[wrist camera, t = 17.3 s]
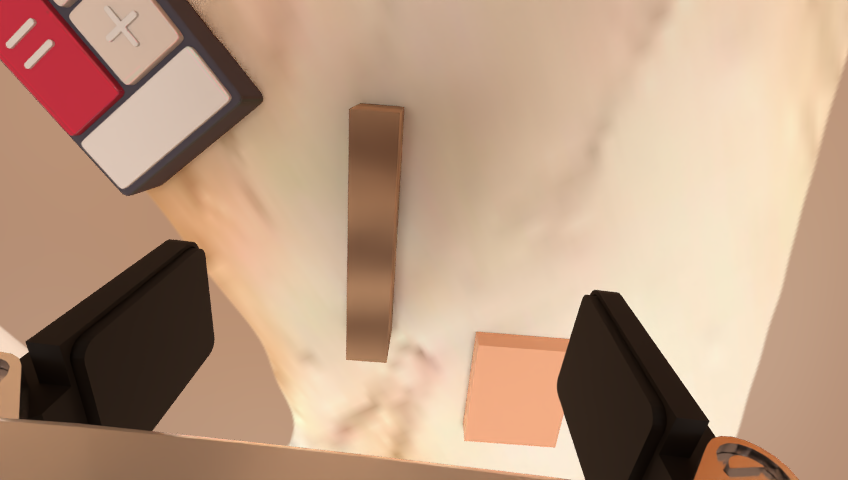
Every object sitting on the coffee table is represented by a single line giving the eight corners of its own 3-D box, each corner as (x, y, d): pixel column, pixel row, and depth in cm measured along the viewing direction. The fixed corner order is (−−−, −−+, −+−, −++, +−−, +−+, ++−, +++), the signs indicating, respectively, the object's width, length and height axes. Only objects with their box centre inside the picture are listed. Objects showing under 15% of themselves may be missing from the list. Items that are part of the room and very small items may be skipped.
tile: (478, 345, 34) (464, 440, 38) (578, 352, 35) (555, 447, 38) (475, 329, 37) (462, 421, 40) (570, 336, 37) (548, 427, 40)
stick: (361, 103, 30) (349, 109, 26) (404, 106, 30) (399, 113, 26) (356, 326, 37) (346, 359, 32) (391, 328, 37) (386, 362, 32)
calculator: (41, -152, 22) (238, 100, 26) (104, -115, 26) (267, 99, 30) (-78, -10, 25) (117, 202, 28) (-4, 4, 29) (159, 188, 32)
